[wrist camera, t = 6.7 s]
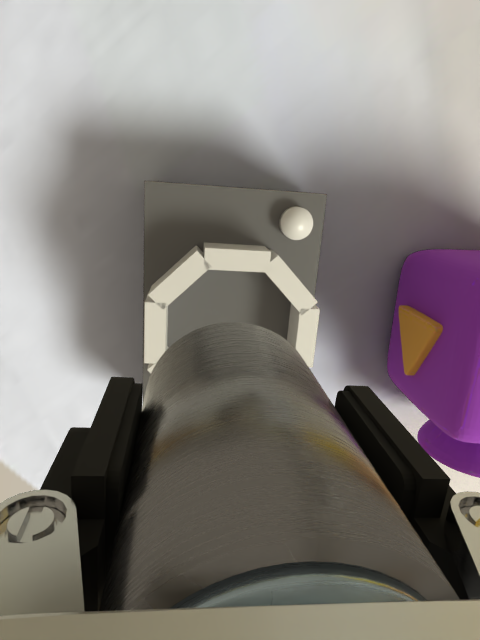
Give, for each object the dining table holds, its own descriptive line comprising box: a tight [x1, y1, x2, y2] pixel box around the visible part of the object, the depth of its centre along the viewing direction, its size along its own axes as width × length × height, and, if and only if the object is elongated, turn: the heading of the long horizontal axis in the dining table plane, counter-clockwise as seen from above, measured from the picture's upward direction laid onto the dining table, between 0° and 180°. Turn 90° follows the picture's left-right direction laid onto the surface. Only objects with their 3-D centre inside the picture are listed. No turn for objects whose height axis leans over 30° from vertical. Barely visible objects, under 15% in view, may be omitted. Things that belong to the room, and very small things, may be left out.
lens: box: [99, 322, 460, 611], centre depth 9 cm, size 5×5×8 cm
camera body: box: [143, 181, 327, 402], centre depth 25 cm, size 14×9×7 cm, turn 176°
